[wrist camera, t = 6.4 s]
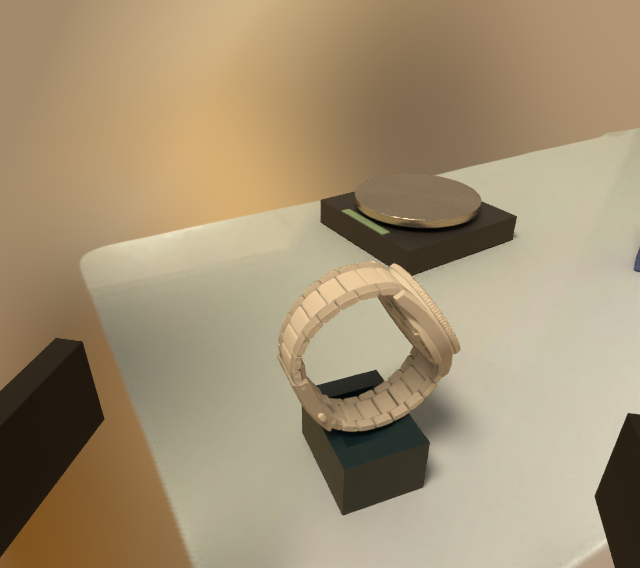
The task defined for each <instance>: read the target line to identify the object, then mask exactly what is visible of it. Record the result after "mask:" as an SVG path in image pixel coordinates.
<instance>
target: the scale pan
mask: <svg viewBox="0 0 640 568" xmlns="http://www.w3.org/2000/svg"><path fill="white" fill-rule="evenodd" d="M354 200H355V204H356V206H357V208H358V209H359V210H360V211H361V212H362V213H364V214H366V215H367V216H369V217H371V218H373V219H376V220H378V221H381V222H385V223H388V224H393V225H398V226H403V227H412V228H442V227H449V226H455V225H459V224H462V223H465V222H467V221H469V220H471V219H473V218H474V217H476V215H477V214H478V213H479V211H480V207H481V198H480V196H479V194H478V193H477V192H476V191H475V190H474V189H472V188H471V187H469V186H467V185H465V184H463V183H460V182H457V181H455V180H451V179H448V178H443V177H438V176H432V175H424V174H393V175H385V176H380V177H376V178H373V179H370V180H367V181H365V182H363V183H362V184H360V185H359V186H358V187H357V189H356V190H355V196H354Z"/></svg>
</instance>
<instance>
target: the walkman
mask: <svg viewBox="0 0 640 568" xmlns="http://www.w3.org/2000/svg"><path fill="white" fill-rule="evenodd" d="M634 270H637V271H640V248H639V251H638V254H637V257H636V262H635V267H634Z"/></svg>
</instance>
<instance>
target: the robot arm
mask: <svg viewBox="0 0 640 568" xmlns="http://www.w3.org/2000/svg"><path fill="white" fill-rule="evenodd" d="M103 420H104V416H103V412H102V409H101V405H100V402H99V398H98V395H97V391H96V388H95V384H94V381H93V377H92V374H91V370H90V367H89V363H88V359H87V356H86V352H85V349H84V346H83V342H82V341H74V340H67V339H59V338H56V339H55V340H54V341H52V343H50V344H49V345H48V346H47V347H46V348H45V349H44V350H43V351H42V352H41V353H40V354H39V355H38V356H37V357H36V358H35V359H34V360H33V361H31V362H30V363H29V364H28V365H27V366H26V367H25V368H24V369H23V370H22V371H21V372H20V373H19V374H18V375H17V376H16V377H15V378H14V379H13V380H12V381H10V383H9V384H7V385H6V386H5V387H4V388H3V389H2V390H1V391H0V557H1V556H2V554H3V553H4V552H5V551H6V549H7V548H8V547H9V545H10V544H11V542H12V541H13V540H14V539H15V537H16V536H17V535H18V533H19V532H20V531H21V529H22V528H23V526H24V525H25V524H26V523H27V521H28V520H29V519H30V517H31V516H32V515H33V513H34V512H35V511H36V509H37V508H38V507H39V505H40V504H41V503H42V501H43V500H44V499H45V497H46V496H47V495H48V493H49V492H50V491H51V489H52V488H53V487H54V485H55V484H56V483H57V481H58V480H59V479H60V477H61V476H62V475H63V474H64V472H65V471H66V470H67V468H68V467H69V465H70V464H71V463H72V462H73V460H74V459H75V458H76V456H77V455H78V454H79V452H80V451H81V449H82V448H83V447H84V446H85V444H86V443H87V442H88V440H89V439H90V438H91V436H92V435H93V434H94V432H95V431H96V430H97V428H98V427H99V426H100V424H101V423H102V422H103ZM595 499H596V503H597V506H598V510H599V513H600V517H601V520H602V524H603V527H604V531H605V534H606V538H607V542H608V545H609V549H610V552H611V556H612V559H613V563H614V566H615V568H640V415H639V414H631V413H628V414H627V417H626V419H625V422H624V424H623V427H622V429H621V432H620V434H619V437H618V439H617V442H616V444H615V446H614V449H613V451H612V454H611V456H610V459H609V461H608V464H607V466H606V469H605V471H604V474H603V476H602V479H601V481H600V484H599V486H598V489H597V491H596V494H595Z"/></svg>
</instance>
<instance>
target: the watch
mask: <svg viewBox="0 0 640 568" xmlns="http://www.w3.org/2000/svg"><path fill="white" fill-rule="evenodd" d="M319 282H320V283H321V284H322V285H321V284H320V283H319ZM319 293H320V294H321V295H320V294H319ZM321 296H322V297H323V298H324V300H325V301H326V302H327V304H328V305H327V304H326V302H325V301H324V300H323V298H322V297H321ZM377 296H378V298H379V300H380V301H381V303H382V305H383V306H384V308H385V309H386V311H387V312H388V314H389V315H390V317H391V318H392V319H393V321H394V322H395V324H396V325H397V326H398V328H399V329H400V330H401V332H402V333H403V334H404V335H405V337H406V338H407V339H408V340H409V342H410V343H411V344H412V345H413V348H412V350H411V351H410V354H411V355H409V356H408V357H407V358H406V360H405V361H404V363H403V364H402V365H401V369H402V370H401V369H398V370H397V371H396V372H395V373H394V374H393V375H392V376H391V377H390V378H389V379H388V380H389V382H390V383H391V385H390V383H389V382H388V381H384V380H383V378H382V377H381V376H380V374H379V373H378V371H377V370H374V371H370V372H366V373H362V374H358V375H354V376H351V377H347V378H343V379H339V380H335V381H332V382H328V383H324V384H320V385H315V384H314V383H313V382H312V381H311V380H310V379H309V378H308V377H307V375H306V372H305V365H304V363H303V361H302V358H301V356H302V355H303V354H304V352H305V350H306V348H307V346H308V344H309V339H310V338H312V337H313V336H314V335H315V334H316V333H317V332H318V330H319V329H320V328H321V327H322V325H323V324H322V323H327V322H328V321H329V320H330V319H332V318H333V317H334V316H335V315H337V314H338V313H339V312H340V309H342V310H343V309H346V308H347V307H349V306H351V305H353V304H356V303H357V302H358V301H359V298H360V300H366V299H369V298H373V297H377ZM337 305H338V306H337ZM338 307H339V308H340V309H339V308H338ZM289 311H290V312H288V313H287V315H286V317H285V319H284V322H283V324H282V327H281V329H282V330H281V331H280V335H279V344H280V345H279V351H280V354H278V355H277V357H278V359H279V362H280V364H281V366H282V368H283V370H284V372H285V374H286V376H287V378H288V380H289V382H290V384H291V386H292V387H293V389H294V391H295V393H296V395H297V397H298V399H299V401H300V403H301V404H302V432H303V435H304V437H305V439H306V441H307V443H308V445H309V447H310V449H311V451H312V453H313V455H314V457H315V459H316V461H317V464H318V466H319V468H320V470H321V472H322V474H323V476H324V478H325V480H326V482H327V484H328V486H329V488H330V491H331V493H332V495H333V497H334V499H335V501H336V503H337V505H338V507H339V509H340V511H341V513H342V515H344V514H347V513H350V512H353V511H356V510H359V509H362V508H364V507H367V506H370V505H373V504H376V503H379V502H382V501H384V500H387V499H390V498H393V497H396V496H399V495H402V494H404V493H407V492H410V491H413V490H416V489H419V488H422V487H423V483H424V477H425V470H426V464H427V457H428V451H429V445H430V442H429V441H428V439H427V438H426V436H425V435H424V434H423V432H422V431H421V430H420V428H419V427H418V426H417V424H416V423H415V422H414V420H413V419H412V418H411V416H410V415H409V412H410V410H413V409H414V408H416V407H417V406H418V405H419V404H421V403H422V402H423V401H424V400H425V398H424V397H427V396H428V395H429V394H430V393H431V392H432V391H433V390H434V388H435V387H436V386H437V383H438V382H439V381H440V379H441V378H442V377H444V376H445V375H447V374H448V373H449V370H450V367H451V364H452V357H453V354H456V353H458V352H459V351H460V345H459V342H458V339H457V337H456V335H455V333H454V332H453V330H452V328H451V326H450V325H449V323H448V322H447V320H446V319H445V317H444V316H443V314H442V313H441V311H440V310H439V309H438V307H437V306H436V305H435V303H434V302H433V301H432V299H431V298H430V297H429V295H428V294H427V293H426V292H425V291H424V289H423V288H422V287H421V286H420V285H419V284H418V283H417V281H416V280H415V279H414V278H413V277H412V276H411V274H410V273H409V272H407V271H406V270H404V269H403V268H402V267H400V266H399V265H397V264H392V265H391V266H389V270H388V269H387V268H385V267H384V266H382V265H381V264H379V263H377V262H375V261H370V262H364V263H358V264H357V265H356V264H351V265H347V266H344V267H341V268H339V269H338V270H333V271H331V272H329V273H328V274H326V275H324V276H323V277H321V278H320V279H319V281H315V282H314V283H313V284H311V285H310V286H309V287H308V288H307V289H306V290H305V291H304V292H303V293H302V295H301V296H299V298H298V299H297V300H296V301H295V302H294V304H293V305H292V307H291V308H290V310H289ZM308 338H309V339H308ZM403 371H404V372H405V373H404V372H403ZM402 380H403V381H404V382H405V383H404V382H403V381H402ZM405 384H406V385H407V386H408V387H409V388H408V387H407V386H406V385H405ZM409 389H410V390H411V391H412V392H411V391H410V390H409ZM420 392H421V393H420ZM412 393H413V394H412ZM423 396H424V397H423ZM406 405H407V406H408V408H409V409H410V410H409V409H408V408H407V406H406Z"/></svg>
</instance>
